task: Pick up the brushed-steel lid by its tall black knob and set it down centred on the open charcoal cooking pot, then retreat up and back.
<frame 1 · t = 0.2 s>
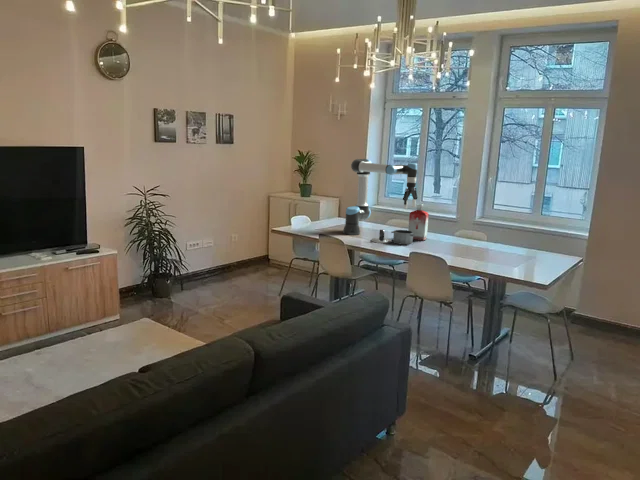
hand: (409, 207, 424), 28 cm above the table, fingers open, 13 cm apart
bottle: (417, 239, 437), on the table
pot: (402, 242, 421), on the table
lid: (381, 241, 423), on the table
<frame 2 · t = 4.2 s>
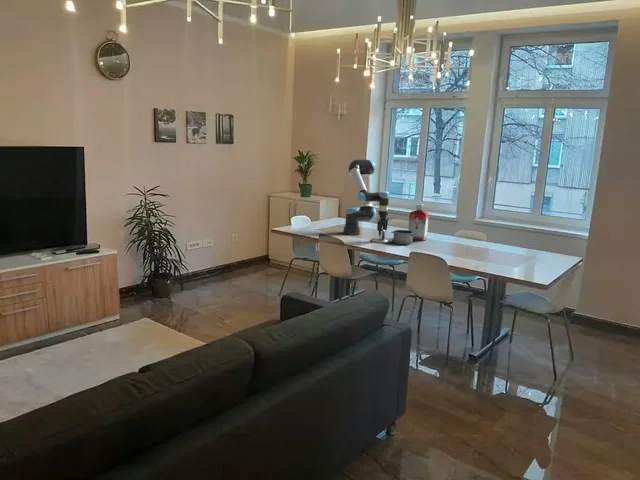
hand: (381, 238, 423), 2 cm above the table, fingers closed on lid, 4 cm apart
lid: (381, 241, 423), on the table, touching gripper
everything else where it was.
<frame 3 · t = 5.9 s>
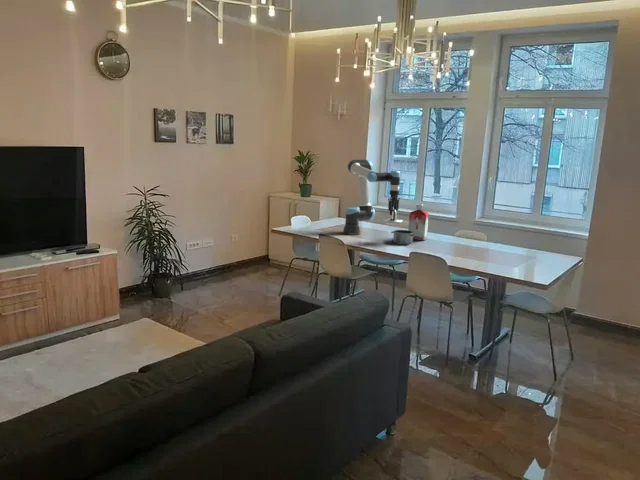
hand: (392, 218, 417), 19 cm above the table, fingers closed on lid, 4 cm apart
lid: (392, 221, 418), point 17 cm above the table, touching gripper
everything else where it was.
when the fingers open (13 cm above the table, at t = 8.0 s): lid drops 1 cm, resting on pot.
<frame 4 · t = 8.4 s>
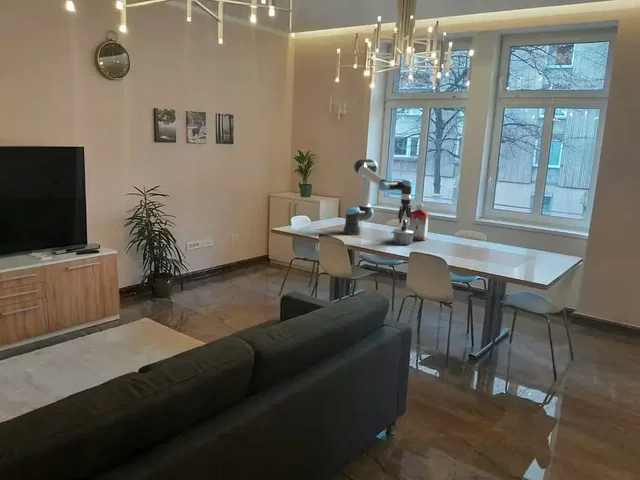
hand: (403, 226, 418), 14 cm above the table, fingers open, 10 cm apart
lid: (403, 231, 419), point 9 cm above the table, touching pot
everything else where it was.
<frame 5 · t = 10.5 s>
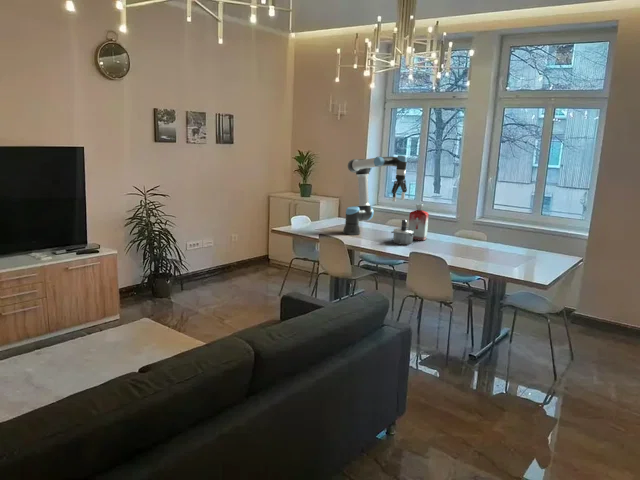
hand: (398, 200, 419), 34 cm above the table, fingers open, 13 cm apart
nothing on the table moved.
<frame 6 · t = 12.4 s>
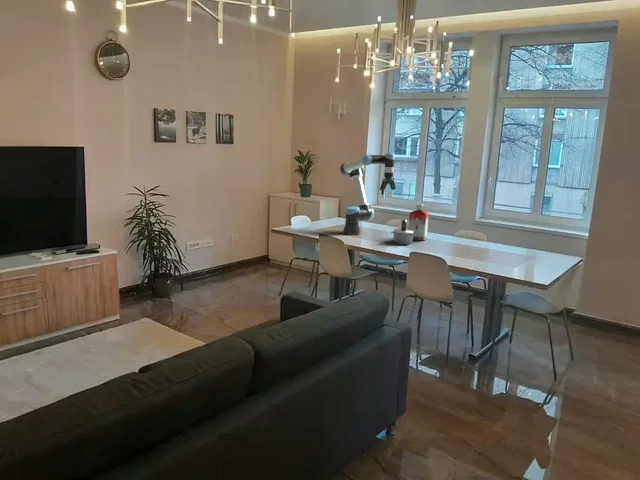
hand: (387, 197, 427), 35 cm above the table, fingers open, 13 cm apart
nothing on the table moved.
at the end: lid 0.1 cm from the pot (horizontally); lid inside the target area on the pot (0.0 cm from its centre), point 9.0 cm above the pot's base; lid tilted 0° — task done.
